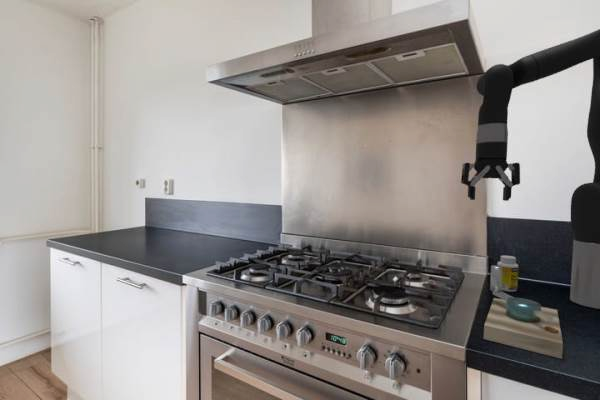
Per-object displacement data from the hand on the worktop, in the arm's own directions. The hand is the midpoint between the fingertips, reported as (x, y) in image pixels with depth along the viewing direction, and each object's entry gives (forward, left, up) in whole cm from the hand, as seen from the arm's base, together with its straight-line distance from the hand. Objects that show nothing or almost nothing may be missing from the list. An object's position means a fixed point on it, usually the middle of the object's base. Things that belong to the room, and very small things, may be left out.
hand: (488, 200), depth 92 cm
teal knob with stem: (+7, +17, -25) cm, 31 cm away
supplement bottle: (-13, -5, -28) cm, 32 cm away
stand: (+8, +18, -28) cm, 34 cm away
